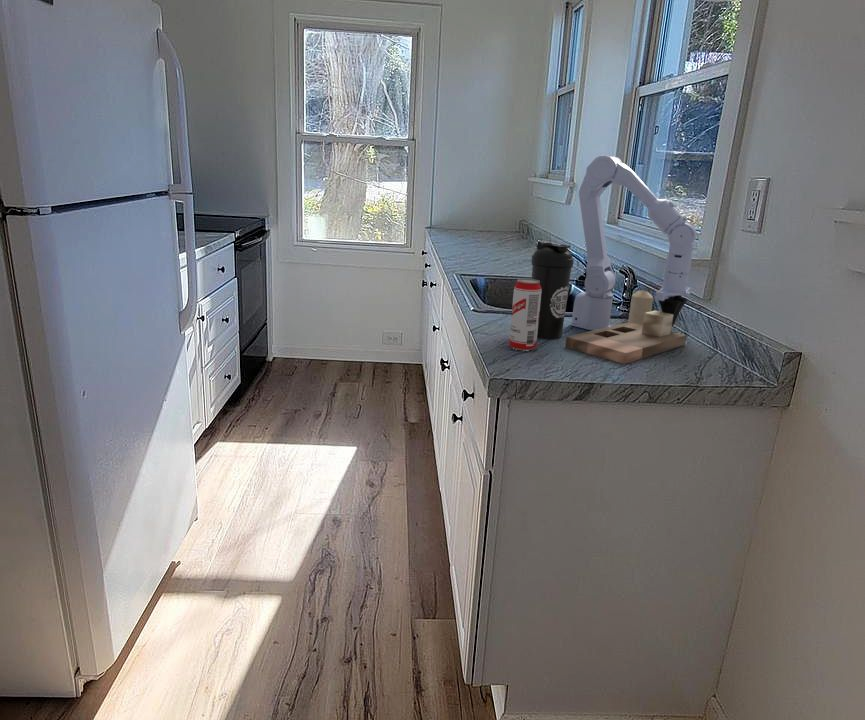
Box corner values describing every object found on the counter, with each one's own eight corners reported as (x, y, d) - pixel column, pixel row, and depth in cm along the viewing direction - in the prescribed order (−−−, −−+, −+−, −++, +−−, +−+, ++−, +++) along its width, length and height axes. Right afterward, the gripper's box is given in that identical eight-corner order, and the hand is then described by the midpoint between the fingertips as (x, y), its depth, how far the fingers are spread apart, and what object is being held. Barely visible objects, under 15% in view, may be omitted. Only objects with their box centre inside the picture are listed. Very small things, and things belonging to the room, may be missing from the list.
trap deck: (565, 347, 155) (566, 336, 154) (627, 331, 173) (629, 321, 173) (624, 363, 144) (626, 353, 143) (684, 344, 162) (686, 335, 162)
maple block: (641, 332, 162) (644, 312, 161) (651, 329, 166) (654, 310, 164) (660, 336, 159) (663, 316, 157) (670, 334, 162) (673, 314, 161)
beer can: (518, 353, 148) (525, 283, 143) (503, 346, 153) (509, 278, 148) (541, 351, 150) (548, 282, 146) (525, 343, 156) (531, 277, 151)
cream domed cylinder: (649, 330, 176) (655, 293, 173) (628, 328, 177) (633, 291, 174) (647, 325, 181) (652, 290, 178) (626, 323, 182) (631, 288, 179)
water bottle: (547, 342, 158) (557, 247, 151) (516, 332, 165) (524, 241, 159) (573, 336, 165) (584, 245, 158) (541, 327, 172) (550, 240, 165)
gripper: (678, 277, 154) (669, 332, 158) (705, 272, 164) (696, 325, 168) (651, 272, 159) (642, 326, 163) (679, 268, 169) (670, 319, 173)
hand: (668, 325), depth 166 cm, fingers closed
